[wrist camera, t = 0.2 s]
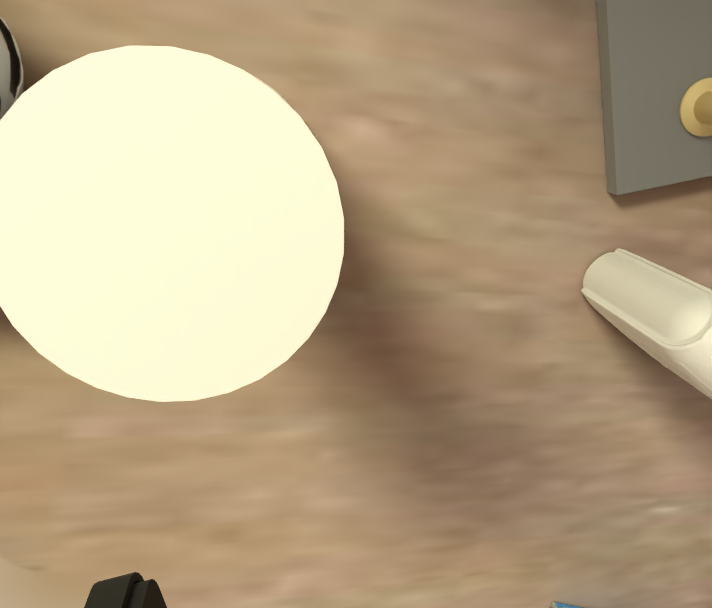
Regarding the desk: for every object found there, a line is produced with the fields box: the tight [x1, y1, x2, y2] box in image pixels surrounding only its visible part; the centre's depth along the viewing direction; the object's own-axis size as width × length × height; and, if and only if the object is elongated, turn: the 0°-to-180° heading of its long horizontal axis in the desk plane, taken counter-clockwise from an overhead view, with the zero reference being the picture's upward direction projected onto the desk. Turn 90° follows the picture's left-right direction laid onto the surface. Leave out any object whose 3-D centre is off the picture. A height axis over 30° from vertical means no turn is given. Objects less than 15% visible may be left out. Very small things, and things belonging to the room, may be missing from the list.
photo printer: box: [581, 248, 712, 399], centre depth 37 cm, size 10×4×12 cm, turn 52°
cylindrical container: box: [0, 46, 344, 402], centre depth 25 cm, size 7×7×25 cm
